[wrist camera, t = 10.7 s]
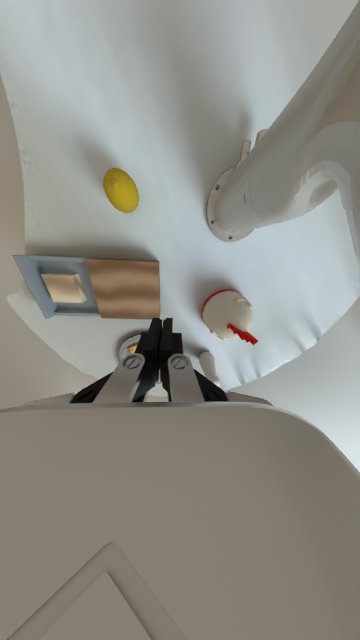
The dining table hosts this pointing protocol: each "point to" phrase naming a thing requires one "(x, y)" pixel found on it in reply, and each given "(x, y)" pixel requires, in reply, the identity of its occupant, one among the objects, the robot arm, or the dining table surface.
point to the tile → (65, 287)
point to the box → (57, 264)
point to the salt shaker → (209, 367)
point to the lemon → (121, 190)
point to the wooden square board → (126, 287)
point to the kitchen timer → (228, 315)
